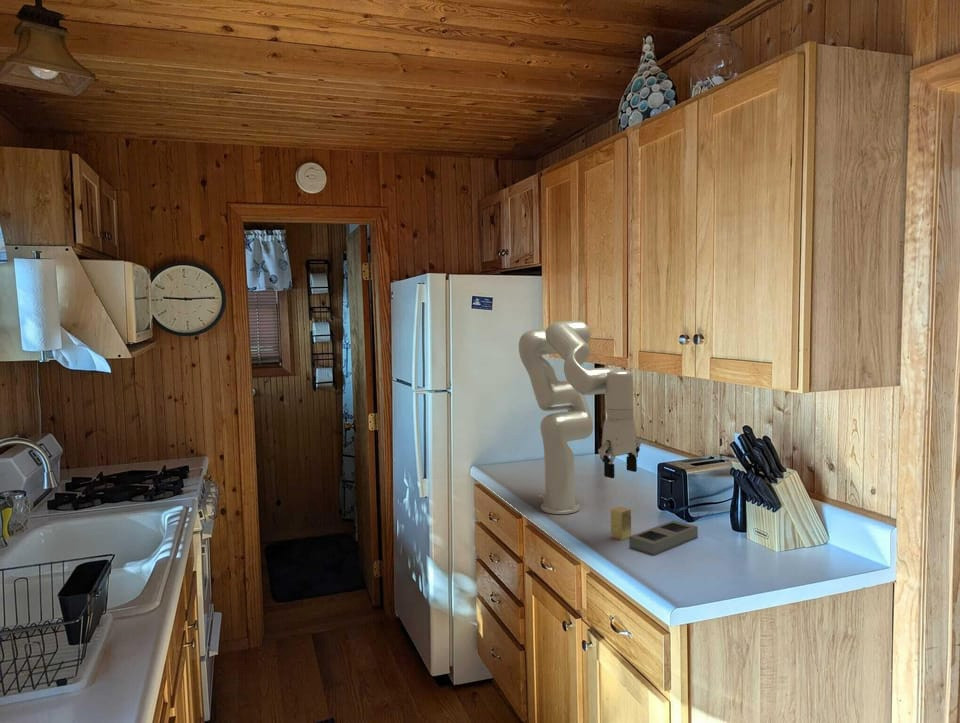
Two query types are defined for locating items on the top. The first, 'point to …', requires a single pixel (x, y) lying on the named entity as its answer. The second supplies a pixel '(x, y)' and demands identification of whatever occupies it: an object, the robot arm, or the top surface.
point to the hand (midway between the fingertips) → (620, 474)
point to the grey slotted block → (663, 537)
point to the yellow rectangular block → (620, 523)
